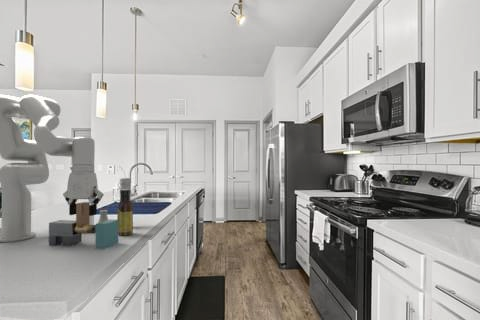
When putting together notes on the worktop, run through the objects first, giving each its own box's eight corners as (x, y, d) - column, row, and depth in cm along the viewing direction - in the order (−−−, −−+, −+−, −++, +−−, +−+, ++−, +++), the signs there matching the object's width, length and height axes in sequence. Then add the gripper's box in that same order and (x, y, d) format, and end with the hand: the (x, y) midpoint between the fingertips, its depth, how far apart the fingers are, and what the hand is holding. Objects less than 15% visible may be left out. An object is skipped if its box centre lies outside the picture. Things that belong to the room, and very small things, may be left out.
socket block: (95, 248, 96) (95, 223, 96) (109, 242, 104) (109, 219, 104) (104, 249, 95) (105, 224, 96) (118, 242, 103) (118, 219, 104)
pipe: (126, 229, 126) (126, 166, 126) (115, 228, 127) (115, 166, 128) (133, 226, 131) (133, 166, 132) (122, 226, 132) (122, 166, 133)
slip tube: (53, 233, 101) (53, 203, 101) (61, 230, 105) (62, 201, 105) (90, 234, 99) (91, 203, 99) (98, 232, 103) (98, 202, 103)
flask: (115, 231, 122) (116, 209, 122) (103, 235, 115) (103, 212, 115) (103, 230, 124) (103, 208, 125) (90, 233, 118) (90, 211, 118)
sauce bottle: (120, 232, 119) (120, 188, 119) (134, 232, 120) (134, 188, 120) (114, 236, 112) (115, 190, 113) (129, 236, 113) (130, 189, 113)
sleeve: (47, 245, 100) (47, 223, 101) (60, 241, 106) (60, 219, 106) (70, 246, 99) (71, 223, 99) (82, 242, 105) (82, 220, 105)
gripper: (55, 169, 100) (54, 216, 99) (96, 169, 97) (96, 217, 97) (71, 169, 107) (70, 212, 107) (110, 169, 104) (109, 213, 104)
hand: (83, 214), depth 102 cm, fingers open, 7 cm apart
